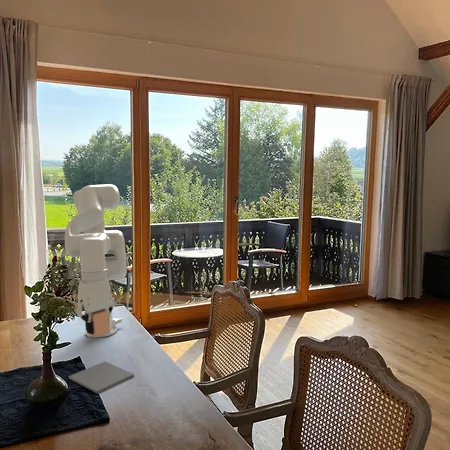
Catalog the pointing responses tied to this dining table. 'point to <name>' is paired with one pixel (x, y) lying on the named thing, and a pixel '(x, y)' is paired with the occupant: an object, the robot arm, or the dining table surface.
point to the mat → (101, 377)
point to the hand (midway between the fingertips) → (97, 330)
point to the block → (100, 322)
